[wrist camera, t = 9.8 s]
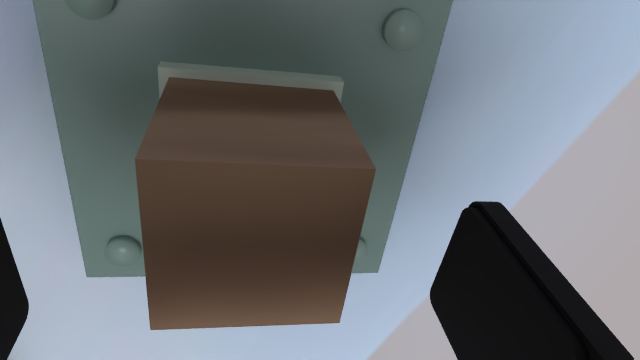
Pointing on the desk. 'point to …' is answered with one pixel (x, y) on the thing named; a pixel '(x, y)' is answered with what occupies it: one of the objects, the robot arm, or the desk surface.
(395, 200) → the baseplate
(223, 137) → the walnut cube
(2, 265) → the robot arm
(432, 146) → the desk surface
